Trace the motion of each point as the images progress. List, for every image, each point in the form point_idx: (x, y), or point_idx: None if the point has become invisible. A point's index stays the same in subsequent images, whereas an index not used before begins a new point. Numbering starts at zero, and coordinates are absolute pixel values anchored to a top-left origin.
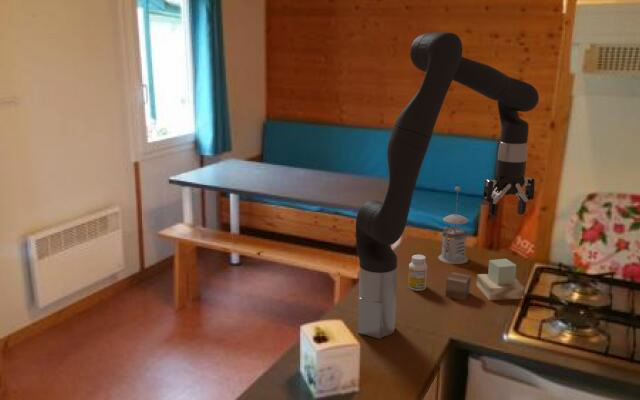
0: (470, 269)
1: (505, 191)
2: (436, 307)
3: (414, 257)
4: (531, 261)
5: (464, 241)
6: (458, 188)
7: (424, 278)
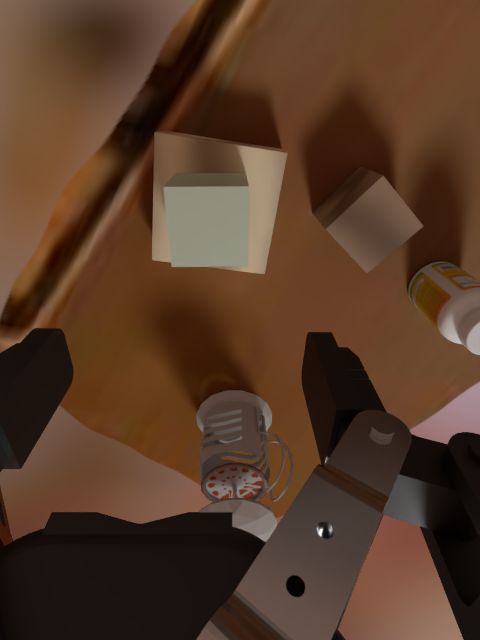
0: (223, 356)
1: (269, 572)
2: (476, 137)
3: None
4: None
5: (216, 446)
6: None
7: (449, 277)
